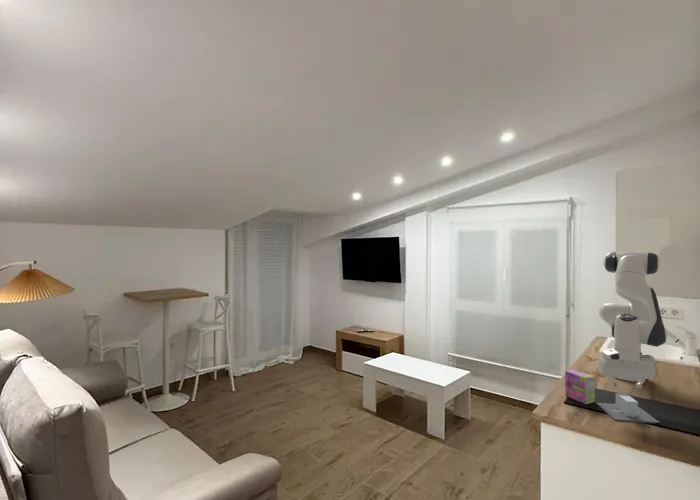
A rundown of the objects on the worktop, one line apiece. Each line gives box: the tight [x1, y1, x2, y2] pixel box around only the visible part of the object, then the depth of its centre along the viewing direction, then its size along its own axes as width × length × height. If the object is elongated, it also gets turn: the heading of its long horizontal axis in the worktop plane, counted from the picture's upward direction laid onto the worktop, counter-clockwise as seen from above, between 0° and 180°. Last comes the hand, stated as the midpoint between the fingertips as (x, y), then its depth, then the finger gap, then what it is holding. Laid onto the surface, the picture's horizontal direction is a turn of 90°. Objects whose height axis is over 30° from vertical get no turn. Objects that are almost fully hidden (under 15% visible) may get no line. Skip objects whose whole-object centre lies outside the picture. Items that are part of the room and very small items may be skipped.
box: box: [564, 369, 596, 405], centre depth 174 cm, size 10×6×12 cm, turn 21°
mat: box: [595, 402, 661, 424], centre depth 160 cm, size 16×16×1 cm
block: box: [614, 392, 639, 417], centre depth 160 cm, size 4×9×6 cm, turn 170°
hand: (626, 386), depth 160 cm, fingers open, 8 cm apart
